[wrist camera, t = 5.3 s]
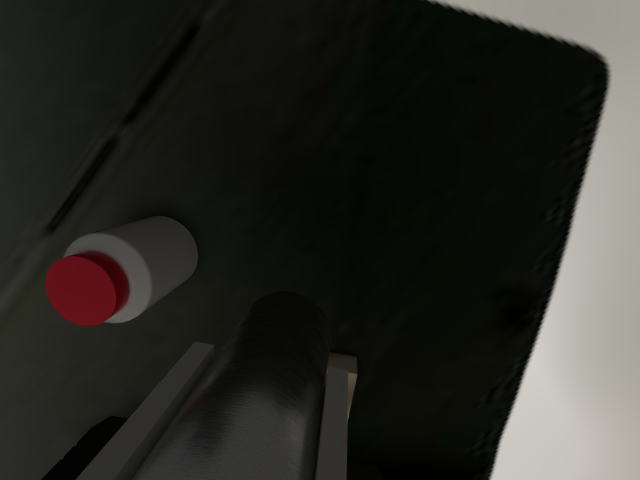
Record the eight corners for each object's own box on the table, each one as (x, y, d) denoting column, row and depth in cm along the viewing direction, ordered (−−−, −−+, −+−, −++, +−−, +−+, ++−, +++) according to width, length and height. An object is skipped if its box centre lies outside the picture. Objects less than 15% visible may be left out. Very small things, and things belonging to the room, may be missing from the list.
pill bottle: (145, 201, 34) (49, 220, 23) (210, 241, 34) (147, 277, 23) (117, 262, 36) (17, 305, 25) (179, 299, 36) (107, 357, 25)
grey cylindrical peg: (247, 284, 17) (-204, 817, 3) (337, 299, 16) (273, 953, 3) (239, 363, 18) (-119, 1013, 4) (324, 379, 18) (231, 1123, 4)
